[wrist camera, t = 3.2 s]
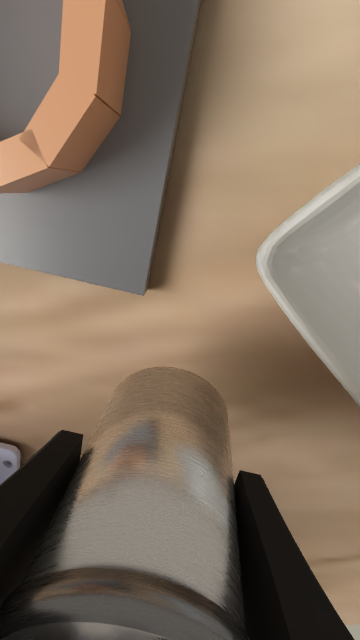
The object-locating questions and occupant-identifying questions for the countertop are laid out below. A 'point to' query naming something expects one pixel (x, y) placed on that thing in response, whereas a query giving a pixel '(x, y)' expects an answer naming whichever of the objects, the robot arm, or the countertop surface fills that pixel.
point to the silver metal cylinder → (142, 526)
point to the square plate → (321, 276)
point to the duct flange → (89, 132)
